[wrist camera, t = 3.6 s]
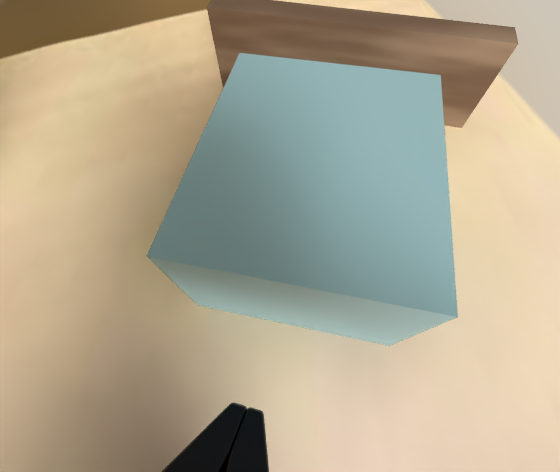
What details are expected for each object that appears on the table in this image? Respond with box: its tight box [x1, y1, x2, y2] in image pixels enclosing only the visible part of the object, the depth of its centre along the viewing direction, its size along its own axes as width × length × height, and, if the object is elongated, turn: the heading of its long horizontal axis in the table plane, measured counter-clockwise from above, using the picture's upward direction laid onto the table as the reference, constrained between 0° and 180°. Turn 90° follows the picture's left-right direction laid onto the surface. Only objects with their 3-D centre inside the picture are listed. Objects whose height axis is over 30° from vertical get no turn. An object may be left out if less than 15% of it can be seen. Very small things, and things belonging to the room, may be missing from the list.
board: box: [207, 0, 518, 128], centre depth 24 cm, size 2×22×7 cm, turn 76°
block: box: [147, 53, 458, 346], centre depth 18 cm, size 14×12×8 cm
